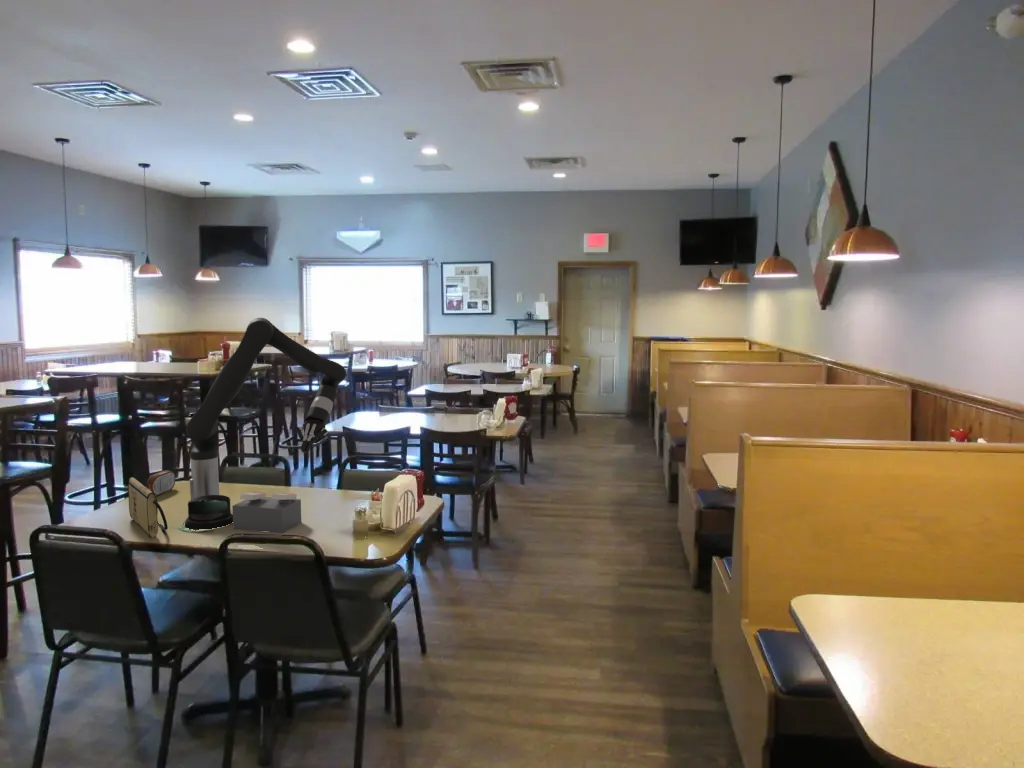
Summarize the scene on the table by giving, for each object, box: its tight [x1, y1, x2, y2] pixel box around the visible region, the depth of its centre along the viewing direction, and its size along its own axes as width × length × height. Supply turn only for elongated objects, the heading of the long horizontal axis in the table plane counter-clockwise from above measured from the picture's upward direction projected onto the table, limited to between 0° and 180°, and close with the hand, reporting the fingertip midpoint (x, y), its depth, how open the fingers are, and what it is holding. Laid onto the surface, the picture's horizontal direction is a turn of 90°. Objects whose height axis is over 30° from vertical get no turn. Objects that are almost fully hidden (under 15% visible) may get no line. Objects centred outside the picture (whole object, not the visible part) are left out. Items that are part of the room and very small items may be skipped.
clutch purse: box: [127, 476, 169, 538], centre depth 231 cm, size 30×7×15 cm, turn 41°
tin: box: [145, 469, 176, 497], centre depth 272 cm, size 15×3×8 cm, turn 172°
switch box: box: [232, 496, 302, 534], centre depth 232 cm, size 12×18×9 cm, turn 77°
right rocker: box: [270, 492, 297, 500], centre depth 232 cm, size 8×4×2 cm, turn 167°
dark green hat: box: [178, 494, 233, 533], centre depth 235 cm, size 20×20×9 cm
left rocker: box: [239, 491, 267, 500], centre depth 232 cm, size 8×4×2 cm, turn 167°
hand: (303, 451), depth 247 cm, fingers closed
